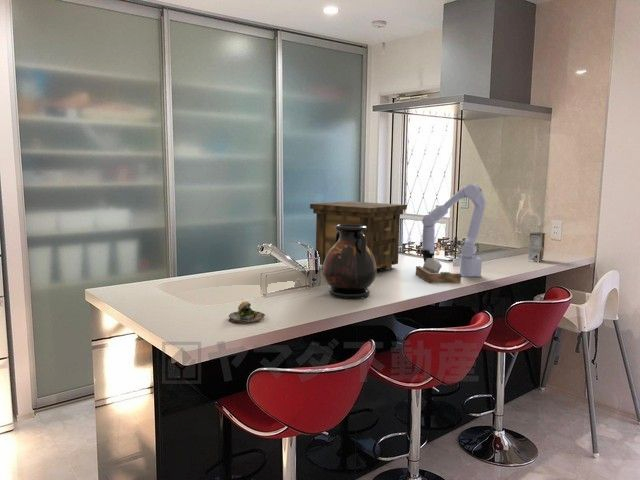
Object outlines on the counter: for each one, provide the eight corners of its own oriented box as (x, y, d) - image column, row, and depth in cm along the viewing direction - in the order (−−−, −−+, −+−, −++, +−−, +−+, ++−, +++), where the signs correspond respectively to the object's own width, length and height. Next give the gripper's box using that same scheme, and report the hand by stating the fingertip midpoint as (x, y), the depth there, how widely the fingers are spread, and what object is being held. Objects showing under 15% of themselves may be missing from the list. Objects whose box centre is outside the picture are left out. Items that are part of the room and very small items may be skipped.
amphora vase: (387, 297, 208) (389, 227, 205) (342, 304, 197) (344, 229, 193) (355, 286, 226) (356, 222, 223) (312, 292, 215) (313, 224, 211)
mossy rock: (234, 327, 167) (234, 304, 166) (224, 317, 177) (224, 295, 176) (270, 323, 172) (270, 300, 171) (258, 314, 182) (258, 292, 181)
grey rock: (436, 278, 252) (446, 261, 254) (421, 268, 253) (431, 251, 255) (432, 280, 260) (442, 264, 262) (417, 271, 261) (427, 255, 263)
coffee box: (531, 259, 308) (533, 231, 306) (543, 260, 305) (545, 232, 302) (527, 261, 301) (529, 233, 299) (539, 262, 297) (541, 234, 295)
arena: (445, 274, 258) (446, 264, 258) (460, 282, 239) (461, 272, 239) (415, 274, 257) (416, 264, 256) (428, 282, 237) (429, 272, 237)
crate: (348, 260, 294) (349, 201, 289) (404, 268, 273) (406, 204, 268) (309, 268, 266) (310, 203, 262) (368, 278, 245) (370, 208, 241)
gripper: (416, 236, 269) (415, 263, 271) (425, 240, 255) (423, 268, 257) (429, 236, 270) (428, 262, 272) (439, 240, 256) (437, 268, 258)
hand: (427, 265), depth 265 cm, fingers closed
